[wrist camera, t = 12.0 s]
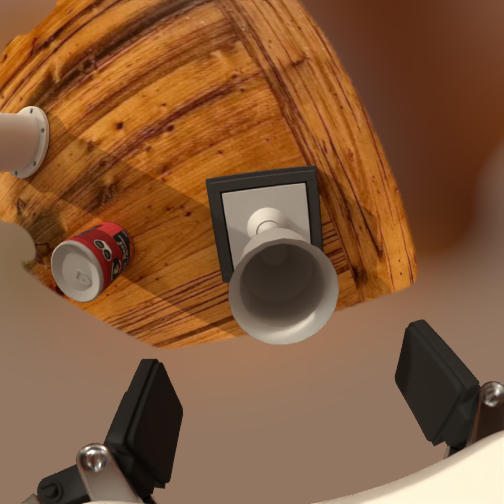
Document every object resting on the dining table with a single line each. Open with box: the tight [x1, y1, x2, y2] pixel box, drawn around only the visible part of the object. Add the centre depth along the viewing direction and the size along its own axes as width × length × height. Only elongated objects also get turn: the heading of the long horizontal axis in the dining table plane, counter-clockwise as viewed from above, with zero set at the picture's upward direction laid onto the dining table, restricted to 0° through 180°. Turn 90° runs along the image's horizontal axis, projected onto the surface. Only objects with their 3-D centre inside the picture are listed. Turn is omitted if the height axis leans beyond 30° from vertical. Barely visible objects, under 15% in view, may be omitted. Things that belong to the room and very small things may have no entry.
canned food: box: [51, 222, 134, 303], centre depth 32 cm, size 8×8×11 cm
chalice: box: [228, 208, 339, 345], centre depth 25 cm, size 7×7×18 cm
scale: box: [206, 165, 323, 282], centre depth 35 cm, size 14×14×3 cm
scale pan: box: [222, 183, 311, 270], centre depth 34 cm, size 10×10×2 cm
